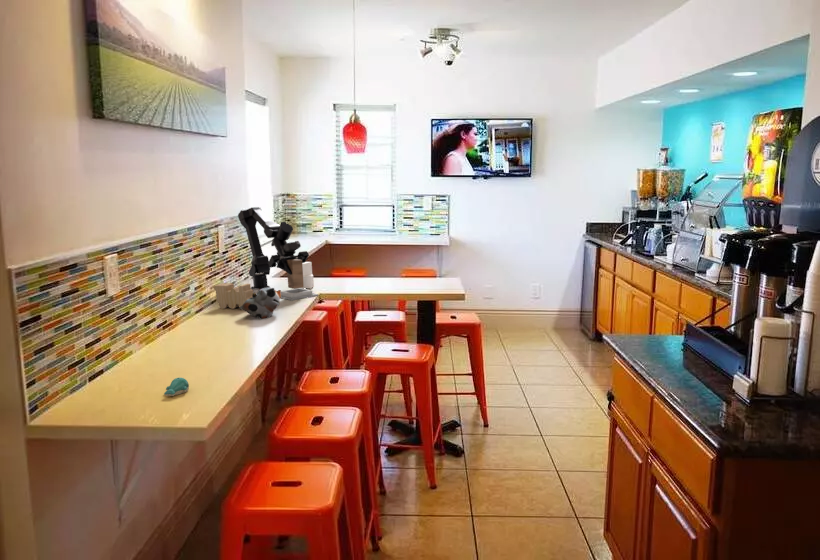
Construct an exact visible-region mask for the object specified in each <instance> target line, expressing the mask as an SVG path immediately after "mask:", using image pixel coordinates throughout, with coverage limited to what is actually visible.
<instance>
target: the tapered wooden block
mask: <svg viewBox="0 0 820 560" xmlns="http://www.w3.org/2000/svg"><path fill="white" fill-rule="evenodd" d="M287 264H288V266H289V268H290V269H291V272H292V275H290V274H289V273H287V272H286V275H287V287H288V288H290V289H297V288H302V287H304V284H303V267H302V260H299V259H292V260H287Z"/></svg>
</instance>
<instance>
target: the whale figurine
mask: <svg viewBox="0 0 820 560" xmlns="http://www.w3.org/2000/svg"><path fill="white" fill-rule="evenodd" d="M189 387H190V384H189V382H188V380H187V379H186V378H184V377H176V378H173V380H171V382H170V385H168V386H166V387H165V390H166V391H165V392H164V393H163V394H164V396H166V397H174V396H177V395H182V394H184V393H187V392H188V391H189Z"/></svg>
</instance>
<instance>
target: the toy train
mask: <svg viewBox="0 0 820 560" xmlns="http://www.w3.org/2000/svg"><path fill="white" fill-rule="evenodd" d="M212 287H213V289H214V291H215V298H216V303H217V305H218V307H219V308H220V309H222V308H224V309H227V308H229V309H232V310H233V309H236V308H239V307H240V306H242V305H243V304H244V302H245V301H246V300H248V299H250V298H252V294H253V293H254V290H253V288H251V287H252V285H251V283H245V284H242V285H239V286H236V287H235V285H234V283H230V282H229V283H227V282H226V283H223V282H222V283H219V284H215V285H213V286H212Z"/></svg>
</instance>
